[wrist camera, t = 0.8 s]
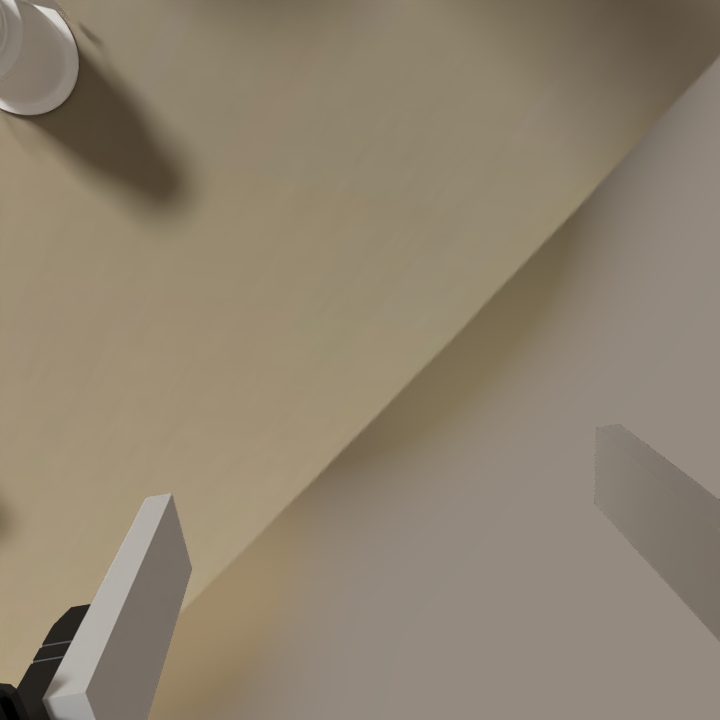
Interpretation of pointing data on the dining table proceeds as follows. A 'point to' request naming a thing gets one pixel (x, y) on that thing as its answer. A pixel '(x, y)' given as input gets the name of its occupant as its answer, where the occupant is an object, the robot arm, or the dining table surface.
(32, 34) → the downlight
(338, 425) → the dining table surface
